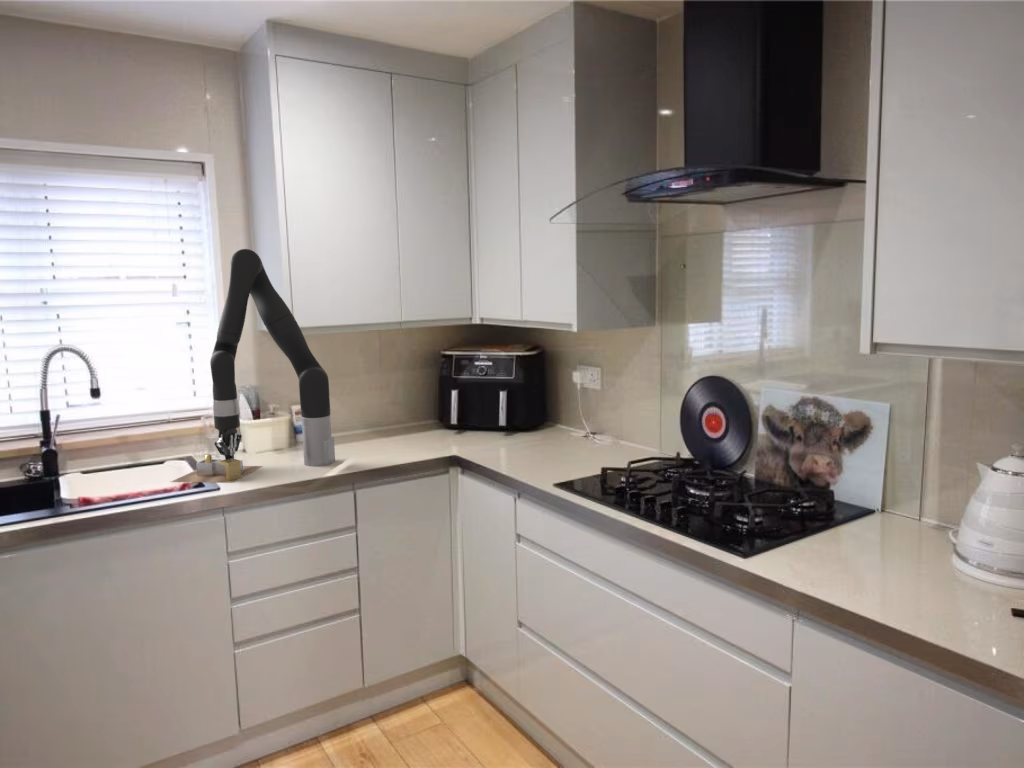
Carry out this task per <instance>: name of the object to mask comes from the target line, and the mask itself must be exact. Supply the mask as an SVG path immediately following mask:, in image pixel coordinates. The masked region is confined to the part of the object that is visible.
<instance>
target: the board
mask: <svg viewBox="0 0 1024 768" xmlns="http://www.w3.org/2000/svg"><path fill="white" fill-rule="evenodd" d="M263 467H264V465H243V473H242V474H241V478H239V479H235V480H231V481H228V480H226V475H213V476H197V469H195V470H193V471H190V472H188V473H186V474H184V475H182V476H180V477H178V478H176V479H173V480H171V481H170V482H171V483H209V484H210V483H211V484H213V483H217V484H218V483H222V484H226V483H227V484H228V483H230V484H231V483H232V484H233V483H235V482H237V481H239V480H240V479H243V478H244V477H246V476H248V475H250V474H252V473H253V472H255V471H257V470H259V469H261V468H263Z"/></svg>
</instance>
